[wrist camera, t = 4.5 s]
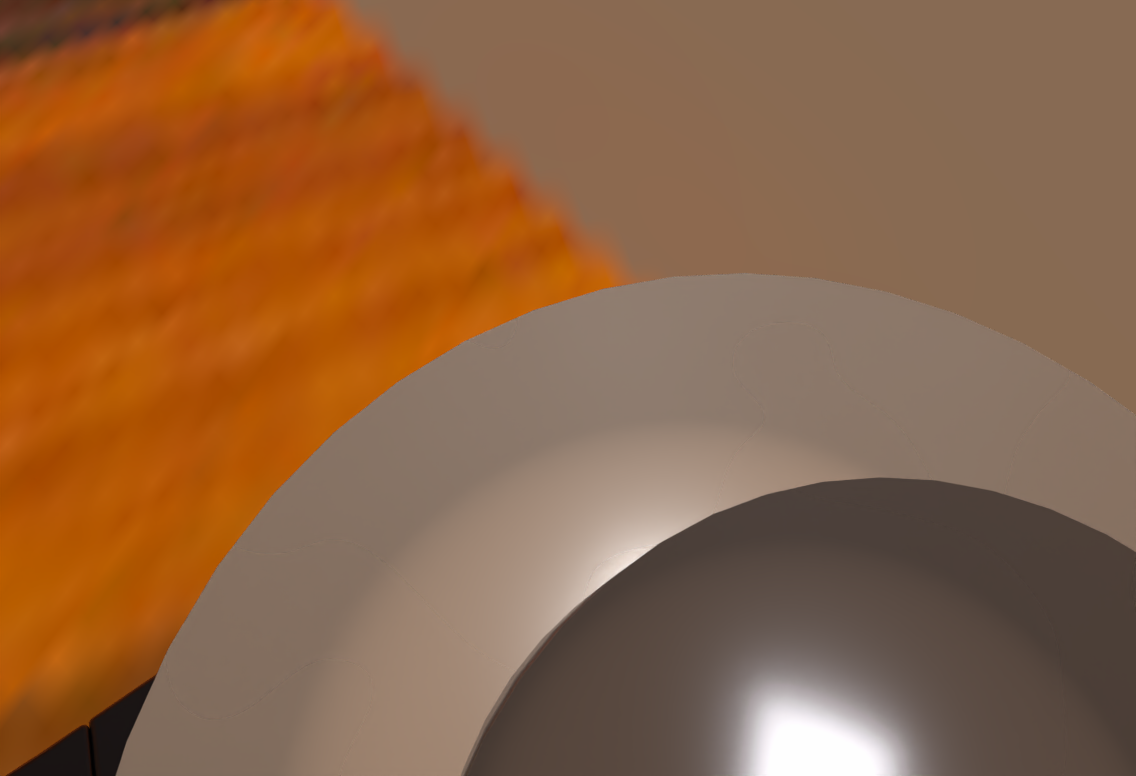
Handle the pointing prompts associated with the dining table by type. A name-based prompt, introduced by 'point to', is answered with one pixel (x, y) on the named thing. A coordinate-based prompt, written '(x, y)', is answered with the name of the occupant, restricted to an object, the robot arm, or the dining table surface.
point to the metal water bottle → (684, 558)
